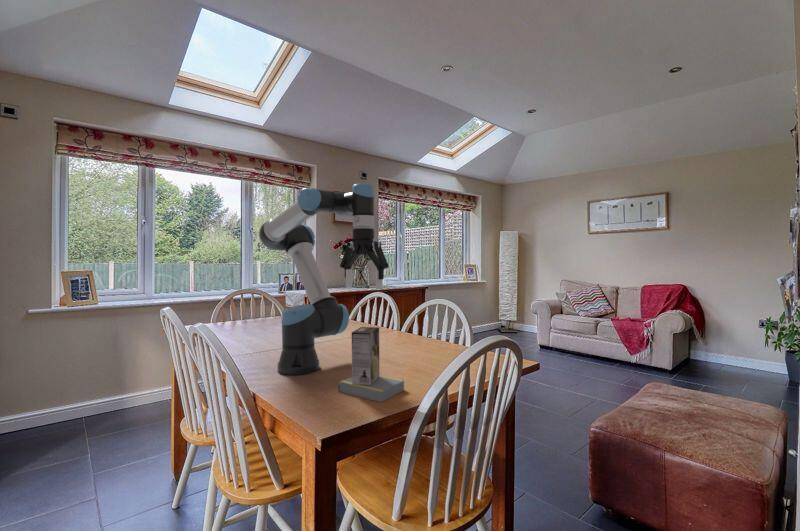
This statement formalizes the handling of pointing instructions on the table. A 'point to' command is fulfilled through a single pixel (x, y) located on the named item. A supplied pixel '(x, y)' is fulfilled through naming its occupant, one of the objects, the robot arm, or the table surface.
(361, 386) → the dock
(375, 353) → the coffee box
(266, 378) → the table surface
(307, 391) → the table surface
